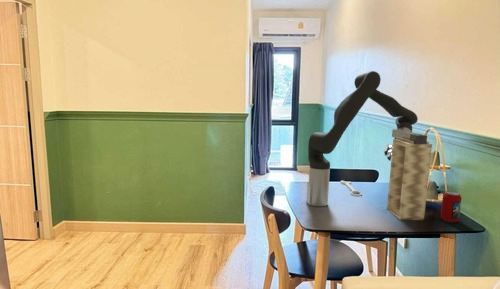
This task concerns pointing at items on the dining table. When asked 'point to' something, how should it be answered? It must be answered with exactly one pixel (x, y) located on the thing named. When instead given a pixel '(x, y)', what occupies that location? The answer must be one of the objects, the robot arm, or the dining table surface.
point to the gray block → (410, 136)
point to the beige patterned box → (408, 179)
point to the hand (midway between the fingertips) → (399, 158)
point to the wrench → (351, 188)
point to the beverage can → (451, 206)
